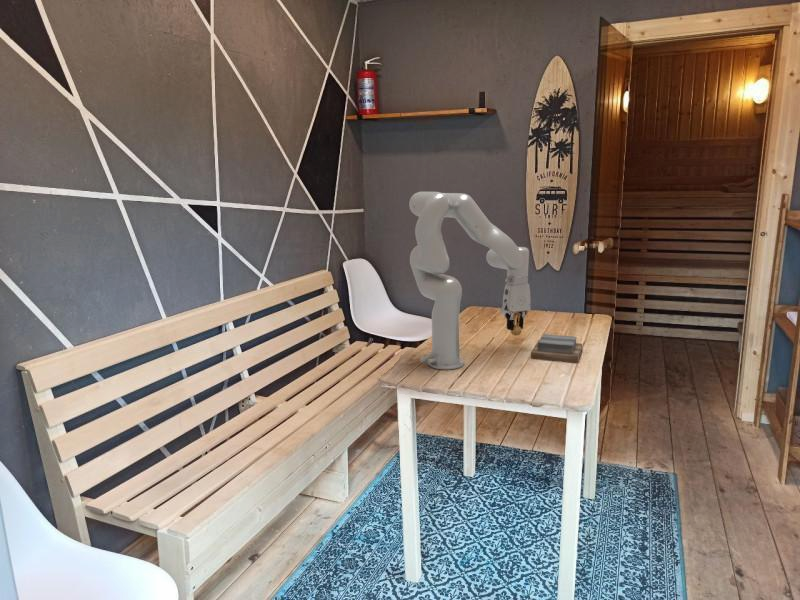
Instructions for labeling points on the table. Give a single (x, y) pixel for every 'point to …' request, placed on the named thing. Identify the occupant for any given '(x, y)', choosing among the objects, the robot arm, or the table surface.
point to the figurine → (517, 328)
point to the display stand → (557, 348)
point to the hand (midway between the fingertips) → (514, 328)
